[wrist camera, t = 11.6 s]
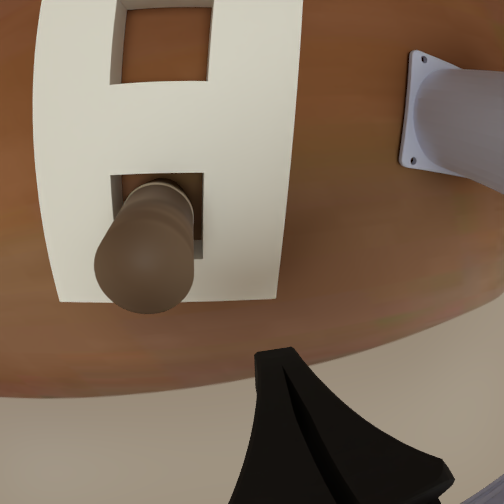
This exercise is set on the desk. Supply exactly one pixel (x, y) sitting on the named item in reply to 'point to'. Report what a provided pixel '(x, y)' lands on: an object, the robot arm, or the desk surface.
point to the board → (167, 138)
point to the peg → (148, 250)
